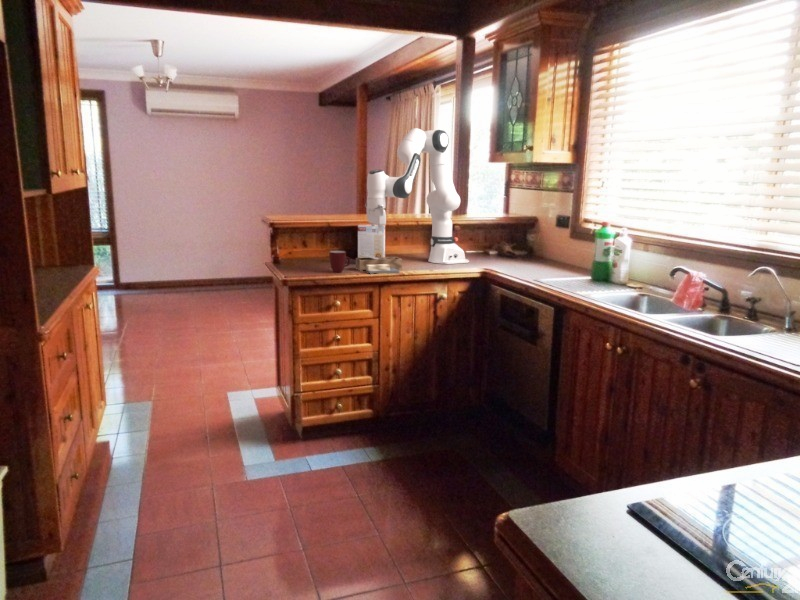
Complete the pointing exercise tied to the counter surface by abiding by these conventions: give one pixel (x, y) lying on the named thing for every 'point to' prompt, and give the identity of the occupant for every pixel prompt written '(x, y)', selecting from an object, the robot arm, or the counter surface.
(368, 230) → the cracker box
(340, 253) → the mug
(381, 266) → the birch bar
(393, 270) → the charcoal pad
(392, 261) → the tan patterned box
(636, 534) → the counter surface
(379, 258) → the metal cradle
